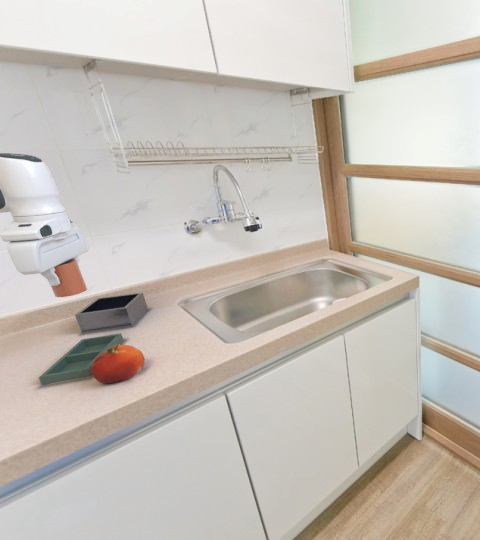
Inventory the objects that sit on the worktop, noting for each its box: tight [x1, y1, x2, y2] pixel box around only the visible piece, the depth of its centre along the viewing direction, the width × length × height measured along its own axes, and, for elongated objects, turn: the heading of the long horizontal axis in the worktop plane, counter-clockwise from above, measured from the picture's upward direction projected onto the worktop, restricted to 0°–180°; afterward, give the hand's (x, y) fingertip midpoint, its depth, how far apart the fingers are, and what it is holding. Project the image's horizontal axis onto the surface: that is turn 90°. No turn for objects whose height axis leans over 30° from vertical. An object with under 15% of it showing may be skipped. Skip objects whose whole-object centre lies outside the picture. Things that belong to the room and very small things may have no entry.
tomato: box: [91, 343, 146, 384], centre depth 77 cm, size 9×9×8 cm
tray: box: [38, 333, 124, 386], centre depth 84 cm, size 9×17×3 cm, turn 18°
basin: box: [74, 292, 149, 335], centre depth 104 cm, size 13×13×7 cm
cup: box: [50, 259, 88, 298], centre depth 83 cm, size 6×6×8 cm
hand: (66, 279), depth 83 cm, fingers closed on cup, 6 cm apart
